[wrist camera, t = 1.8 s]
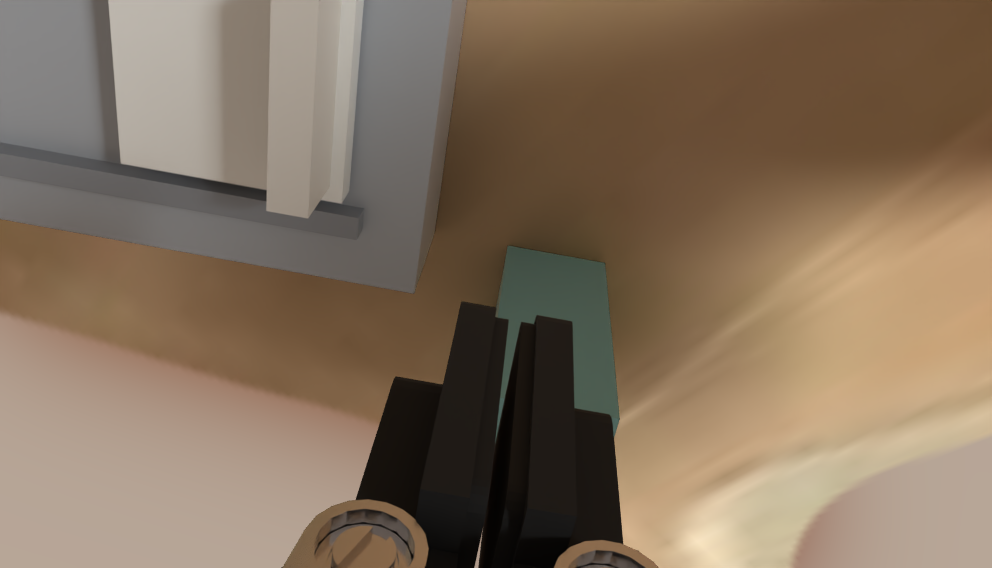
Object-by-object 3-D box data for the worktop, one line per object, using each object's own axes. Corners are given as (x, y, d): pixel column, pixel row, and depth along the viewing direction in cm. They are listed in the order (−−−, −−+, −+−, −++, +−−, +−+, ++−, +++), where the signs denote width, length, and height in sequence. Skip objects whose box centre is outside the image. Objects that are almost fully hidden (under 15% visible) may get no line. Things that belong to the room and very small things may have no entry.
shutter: (366, -36, 22) (336, -18, 19) (349, 191, 26) (320, 236, 23) (120, -82, 22) (52, -71, 19) (135, 152, 26) (79, 192, 23)
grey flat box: (489, -160, 25) (469, -161, 20) (434, 232, 32) (410, 305, 27) (-74, -266, 25) (-237, -294, 20) (-7, 152, 32) (-116, 210, 27)
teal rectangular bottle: (605, 263, 32) (624, 465, 22) (583, 343, 34) (591, 565, 24) (507, 245, 32) (479, 439, 22) (492, 327, 34) (459, 541, 24)
